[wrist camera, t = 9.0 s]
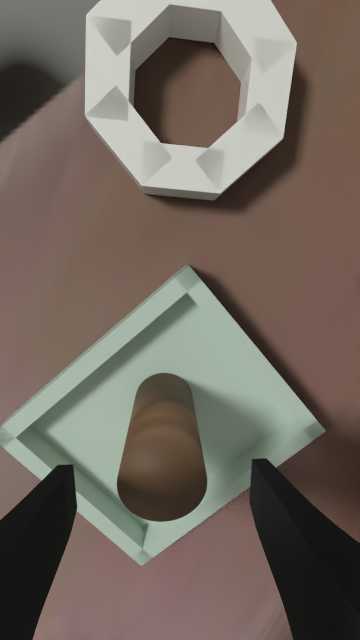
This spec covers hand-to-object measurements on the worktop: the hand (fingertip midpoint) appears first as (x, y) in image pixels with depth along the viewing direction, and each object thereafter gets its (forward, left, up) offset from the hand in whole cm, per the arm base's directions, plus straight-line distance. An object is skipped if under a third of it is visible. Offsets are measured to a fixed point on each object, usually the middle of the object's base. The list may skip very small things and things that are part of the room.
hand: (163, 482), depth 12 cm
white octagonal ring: (-12, -12, -8) cm, 19 cm away
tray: (+1, +1, -8) cm, 8 cm away
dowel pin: (0, 0, -7) cm, 7 cm away
